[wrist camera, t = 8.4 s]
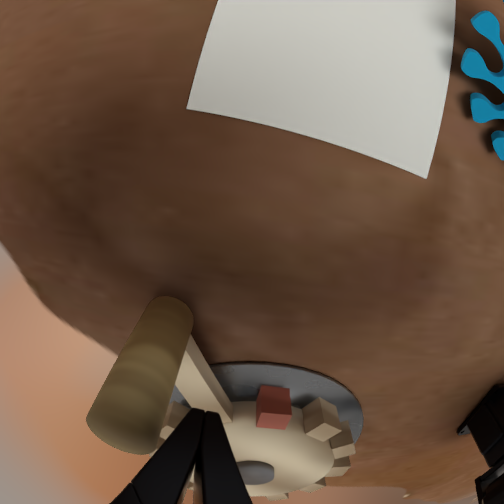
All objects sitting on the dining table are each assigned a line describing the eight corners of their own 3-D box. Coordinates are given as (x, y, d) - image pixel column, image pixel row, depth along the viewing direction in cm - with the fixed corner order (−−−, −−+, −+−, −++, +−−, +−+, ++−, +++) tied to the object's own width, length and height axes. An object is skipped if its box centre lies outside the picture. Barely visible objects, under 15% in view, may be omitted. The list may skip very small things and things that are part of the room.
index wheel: (162, 286, 13) (99, 400, 7) (388, 429, 17) (413, 506, 11) (74, 405, 17) (38, 474, 11) (259, 493, 21) (259, 554, 15)
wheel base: (402, 376, 16) (404, 380, 16) (313, 484, 22) (313, 486, 22) (144, 332, 15) (142, 336, 15) (145, 460, 21) (144, 463, 21)
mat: (454, -26, 7) (455, -26, 7) (425, 178, 12) (426, 178, 12) (259, -95, 7) (259, -96, 7) (186, 109, 11) (186, 108, 11)
